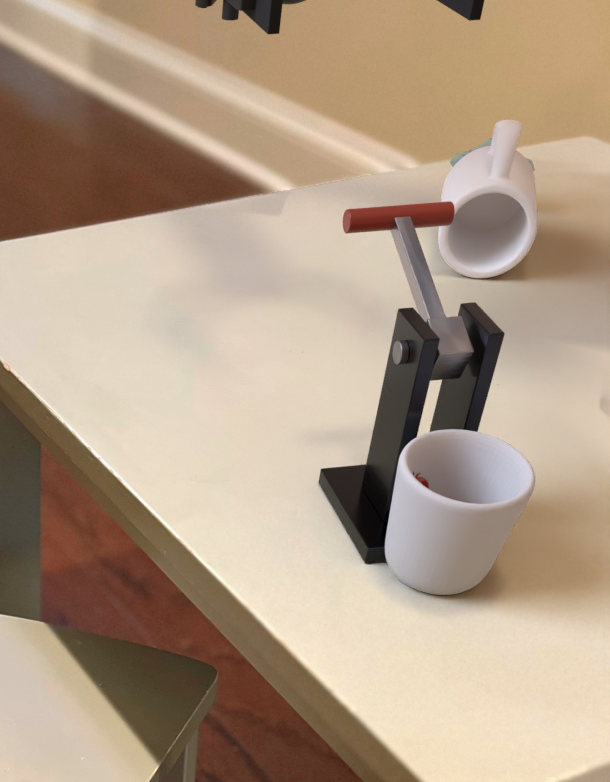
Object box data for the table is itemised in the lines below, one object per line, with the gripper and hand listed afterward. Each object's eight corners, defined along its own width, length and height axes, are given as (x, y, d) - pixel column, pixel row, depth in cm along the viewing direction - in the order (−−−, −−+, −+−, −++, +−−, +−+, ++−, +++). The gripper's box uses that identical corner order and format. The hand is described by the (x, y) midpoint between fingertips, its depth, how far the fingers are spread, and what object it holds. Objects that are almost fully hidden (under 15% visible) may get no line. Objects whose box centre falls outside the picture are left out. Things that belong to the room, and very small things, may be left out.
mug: (521, 239, 113) (558, 102, 105) (523, 283, 106) (563, 140, 98) (432, 232, 115) (462, 97, 107) (428, 275, 108) (460, 133, 100)
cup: (415, 494, 81) (447, 392, 75) (527, 535, 78) (570, 433, 72) (350, 579, 76) (378, 476, 70) (468, 627, 73) (509, 524, 67)
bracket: (317, 482, 84) (351, 291, 74) (438, 471, 85) (488, 280, 75) (364, 564, 77) (408, 364, 67) (496, 550, 78) (559, 351, 68)
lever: (338, 228, 78) (348, 197, 75) (440, 220, 78) (453, 190, 76) (388, 385, 73) (401, 357, 70) (497, 375, 73) (512, 347, 71)
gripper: (428, -16, 94) (546, 55, 79) (123, 4, 92) (185, 81, 78) (450, -132, 89) (580, -80, 74) (126, -114, 87) (193, -55, 72)
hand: (378, 3), depth 76 cm, fingers open, 13 cm apart
